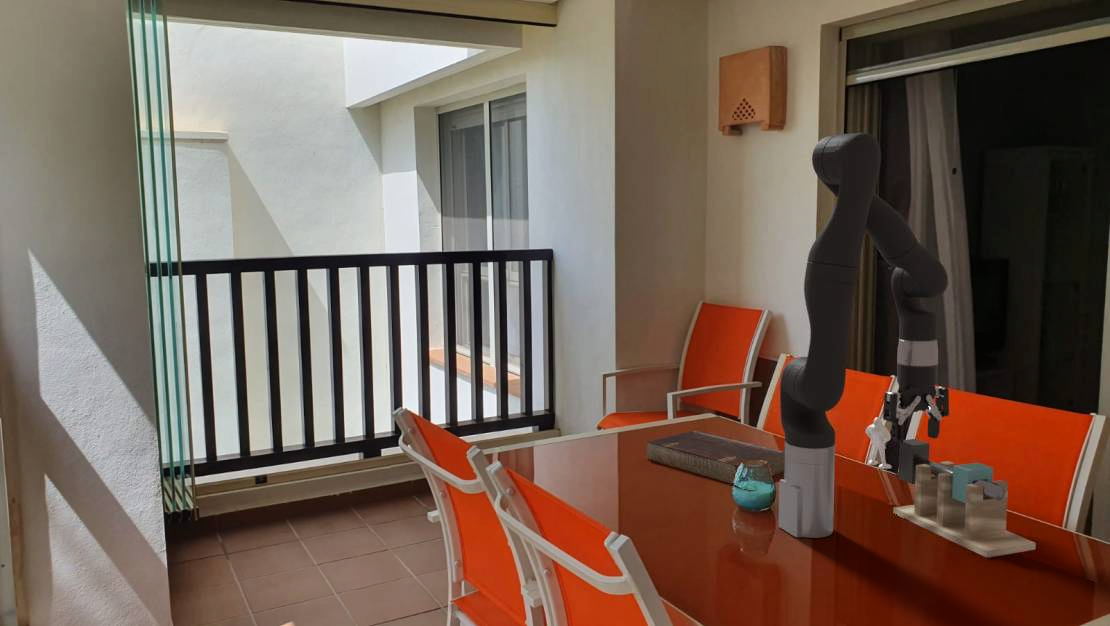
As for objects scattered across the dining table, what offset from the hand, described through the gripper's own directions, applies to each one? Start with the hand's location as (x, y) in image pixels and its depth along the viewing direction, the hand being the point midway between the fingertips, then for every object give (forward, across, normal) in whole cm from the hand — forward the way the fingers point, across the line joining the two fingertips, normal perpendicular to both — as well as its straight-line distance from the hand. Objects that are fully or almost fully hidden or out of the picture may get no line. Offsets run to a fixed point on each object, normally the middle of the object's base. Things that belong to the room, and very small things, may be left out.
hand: (915, 439), depth 173 cm
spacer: (+8, 0, -15) cm, 17 cm away
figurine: (+15, +12, +27) cm, 33 cm away
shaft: (+8, 0, -10) cm, 13 cm away
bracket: (+14, 0, -13) cm, 19 cm away
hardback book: (+15, -23, +42) cm, 50 cm away
